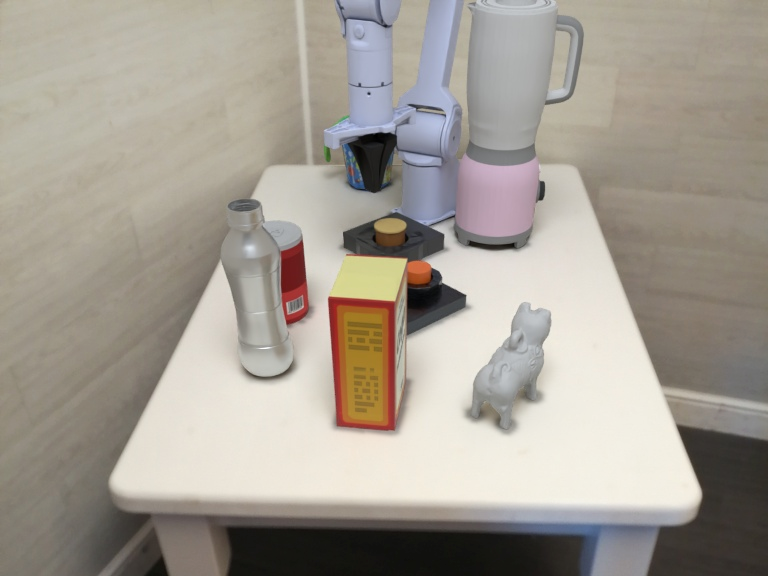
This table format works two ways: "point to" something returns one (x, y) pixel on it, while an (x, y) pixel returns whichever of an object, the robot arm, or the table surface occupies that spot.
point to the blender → (509, 115)
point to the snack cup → (352, 165)
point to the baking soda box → (369, 340)
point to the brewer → (431, 302)
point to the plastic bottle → (256, 290)
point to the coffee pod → (390, 232)
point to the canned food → (291, 268)
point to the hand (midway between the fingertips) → (372, 190)
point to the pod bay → (415, 248)
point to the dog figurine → (513, 364)
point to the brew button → (418, 272)
